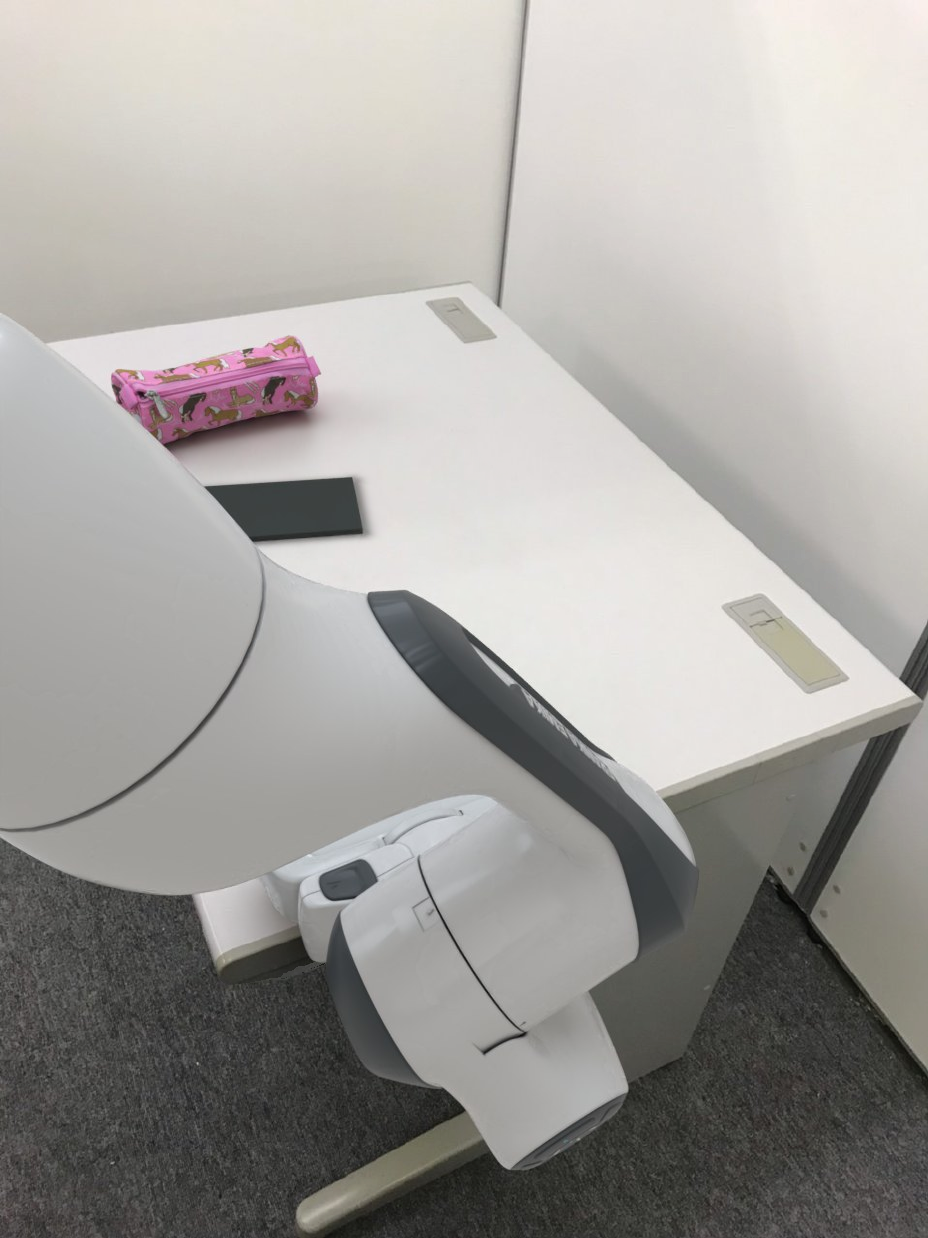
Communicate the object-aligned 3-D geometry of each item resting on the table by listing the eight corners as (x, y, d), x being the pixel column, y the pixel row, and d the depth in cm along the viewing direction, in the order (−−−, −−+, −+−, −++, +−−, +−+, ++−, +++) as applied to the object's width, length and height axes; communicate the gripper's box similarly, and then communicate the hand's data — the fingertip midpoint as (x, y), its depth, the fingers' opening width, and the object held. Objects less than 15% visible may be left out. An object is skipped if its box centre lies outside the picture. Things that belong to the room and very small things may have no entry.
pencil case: (140, 469, 101) (125, 393, 95) (114, 427, 107) (99, 352, 101) (328, 424, 110) (325, 351, 104) (295, 387, 115) (291, 316, 109)
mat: (195, 545, 92) (194, 540, 92) (195, 491, 99) (194, 486, 98) (362, 533, 95) (362, 528, 95) (352, 481, 102) (352, 476, 101)
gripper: (597, 798, 60) (497, 653, 69) (278, 915, 53) (213, 736, 62) (583, 856, 64) (490, 713, 73) (285, 972, 57) (223, 797, 66)
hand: (361, 724), depth 68 cm, fingers open, 8 cm apart
